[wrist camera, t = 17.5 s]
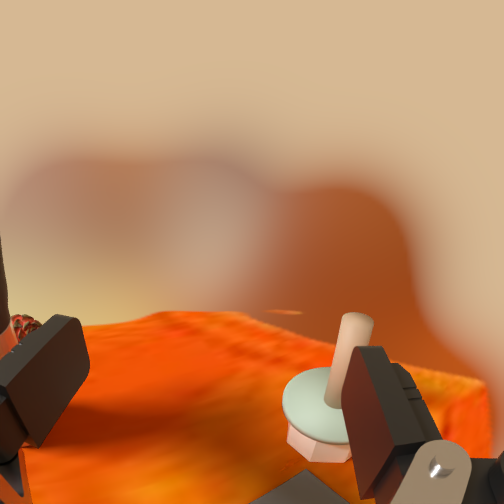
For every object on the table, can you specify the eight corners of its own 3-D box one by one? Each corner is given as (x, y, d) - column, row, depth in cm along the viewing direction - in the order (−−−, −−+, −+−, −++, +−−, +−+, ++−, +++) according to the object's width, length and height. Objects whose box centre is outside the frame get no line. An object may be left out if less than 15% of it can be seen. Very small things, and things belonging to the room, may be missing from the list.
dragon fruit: (56, 362, 49) (11, 364, 47) (57, 322, 54) (13, 327, 52) (34, 347, 42) (-13, 350, 40) (37, 303, 47) (-9, 309, 45)
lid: (259, 398, 38) (267, 311, 34) (331, 360, 46) (347, 284, 42) (339, 464, 28) (374, 377, 24) (405, 405, 36) (436, 324, 32)
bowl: (271, 428, 40) (275, 400, 38) (324, 397, 46) (332, 368, 44) (327, 475, 32) (338, 449, 30) (378, 433, 38) (390, 405, 36)
